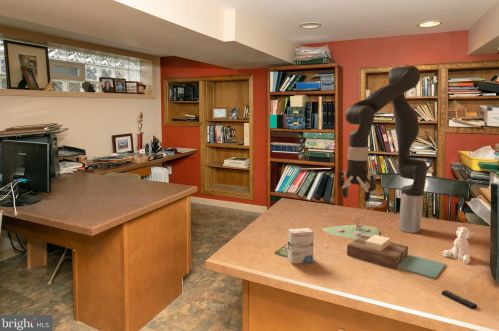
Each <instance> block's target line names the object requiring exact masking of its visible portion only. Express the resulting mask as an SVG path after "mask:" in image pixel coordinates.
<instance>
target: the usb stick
mask: <svg viewBox="0 0 499 331" xmlns="http://www.w3.org/2000/svg"><path fill="white" fill-rule="evenodd" d="M441 294H442V296H445V297H447V298H448V299H450V300H453V301H455V302H456V303H458V304H460V305H462V306H464V307H467V308H469V309H471V310H474V309H477V308H478V305H477V304H476V303H474V302H472V301H470V300H468V299H466V298H464V297H462V296H460V295H457V294H456V293H454V292H451V291H450V290H446V289H445V290H442V291H441Z"/></svg>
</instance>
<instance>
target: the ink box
mask: <svg viewBox="0 0 499 331" xmlns="http://www.w3.org/2000/svg"><path fill="white" fill-rule="evenodd" d="M314 232H315V231H313V230H312V228H310V227H303V228H289V229H287V244H288V258H287V259H288V260H289V263H290V264H291V265H292V264H301V263H302V264H304V263H313V262H314V234H315V233H314Z"/></svg>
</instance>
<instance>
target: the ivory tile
mask: <svg viewBox="0 0 499 331" xmlns="http://www.w3.org/2000/svg"><path fill="white" fill-rule="evenodd" d="M390 242H391V238H390V237H387V236H383V235H380V234H379V235H374V236H372V237H371V238H369V239H368V240H366V241H365V247H366V248H370V249H374V250H378V251H382V250H383V249H385V248H386V247H387V246H388V245H390Z"/></svg>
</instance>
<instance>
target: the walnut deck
mask: <svg viewBox="0 0 499 331" xmlns="http://www.w3.org/2000/svg"><path fill="white" fill-rule="evenodd" d="M369 238H371V237H367V236H363V235H362V236H361V237H359V238H358V239H354V240H353V241H352V242H350V243H349V244H347V248H346V256H349V257H352V258H356V259H360V260H362V261H366V262H371V263H374V264H376V265H381V266H384V267H387V268H390V269H397V268H396V266H397V265H398V264H399V263H400V262H401V261H402V260H403V259H405V258H406V257H407V256H408V255H409V254H408V253H409V246H408V245H404V244H401V243H400V244H399V243H396V242H391V241H390V245H388V246H387V247H386V248H385V249H383V250H382V251H378V250H374V249H370V248H366V247H365V241H366V240H368V239H369Z"/></svg>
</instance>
